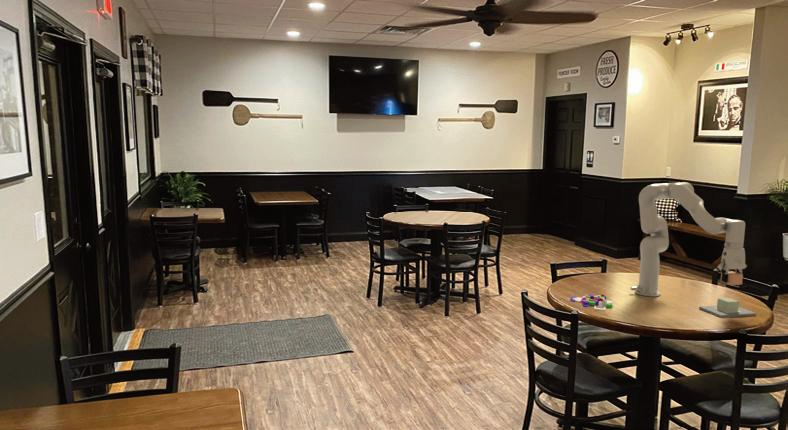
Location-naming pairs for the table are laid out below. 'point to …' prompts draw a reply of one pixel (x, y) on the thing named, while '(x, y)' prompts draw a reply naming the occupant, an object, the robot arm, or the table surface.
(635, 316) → the table surface
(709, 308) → the slate baseplate
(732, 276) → the terracotta block
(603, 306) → the building block set
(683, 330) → the table surface
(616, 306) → the table surface
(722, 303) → the sage green block
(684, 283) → the table surface
